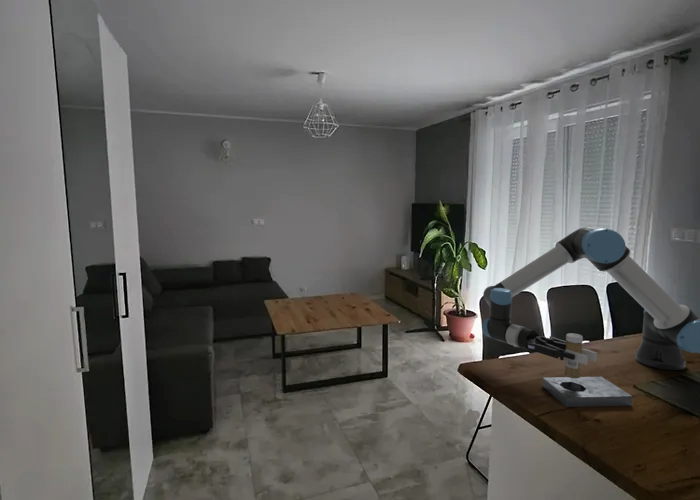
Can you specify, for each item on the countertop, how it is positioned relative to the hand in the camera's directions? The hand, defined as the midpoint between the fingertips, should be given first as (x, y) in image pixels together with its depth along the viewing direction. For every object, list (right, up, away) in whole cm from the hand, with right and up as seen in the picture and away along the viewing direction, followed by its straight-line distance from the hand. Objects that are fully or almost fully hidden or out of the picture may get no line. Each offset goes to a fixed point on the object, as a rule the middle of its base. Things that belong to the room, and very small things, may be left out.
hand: (591, 358), depth 119 cm
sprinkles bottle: (-3, -7, +5) cm, 9 cm away
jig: (+2, -13, +6) cm, 15 cm away
